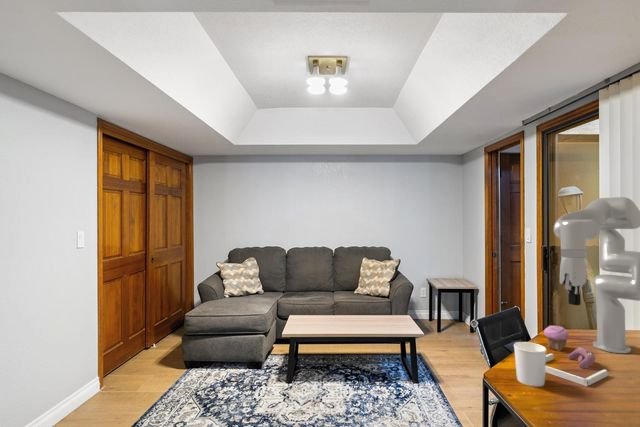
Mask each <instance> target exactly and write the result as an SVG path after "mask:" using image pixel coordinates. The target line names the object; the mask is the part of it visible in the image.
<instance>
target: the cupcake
mask: <svg viewBox="0 0 640 427" xmlns="http://www.w3.org/2000/svg"><path fill="white" fill-rule="evenodd" d="M543 331H544V332H543V334H544V336H545V337H546V339H547V347H548V348H549V349H551V350H556V351H557V352H561V351H562V350H564V348H565V347H566V344H567V341H568V339H570V334H569V332H568V331H567V329H565V327H563V326H559V325H548V326H547V327H546V328H544V330H543Z"/></svg>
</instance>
